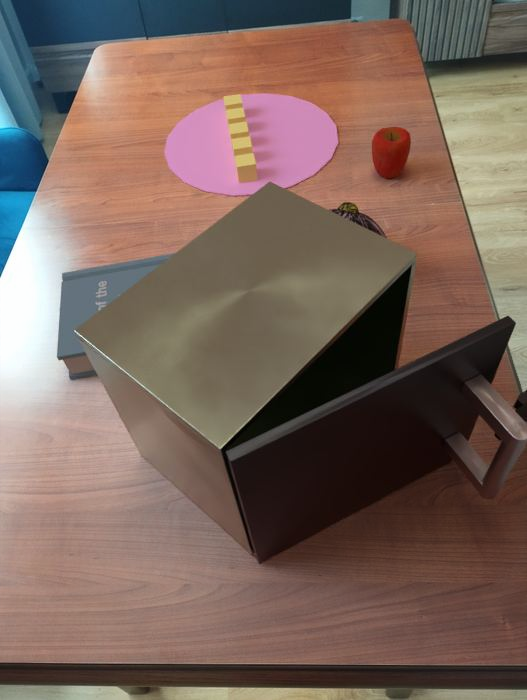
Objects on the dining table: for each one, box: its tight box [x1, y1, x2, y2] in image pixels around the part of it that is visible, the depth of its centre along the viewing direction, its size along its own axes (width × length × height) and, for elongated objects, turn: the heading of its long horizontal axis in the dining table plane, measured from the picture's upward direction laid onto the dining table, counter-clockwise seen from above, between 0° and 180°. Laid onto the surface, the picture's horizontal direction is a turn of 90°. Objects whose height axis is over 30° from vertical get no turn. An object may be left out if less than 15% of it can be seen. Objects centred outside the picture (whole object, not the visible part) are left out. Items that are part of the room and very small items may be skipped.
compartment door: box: [226, 315, 527, 565], centre depth 52 cm, size 8×26×23 cm, turn 116°
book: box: [56, 252, 176, 380], centre depth 80 cm, size 23×16×5 cm
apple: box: [371, 126, 412, 179], centre depth 95 cm, size 6×6×8 cm
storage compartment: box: [74, 182, 418, 556], centre depth 61 cm, size 18×26×24 cm
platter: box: [163, 92, 339, 197], centre depth 106 cm, size 32×32×3 cm
